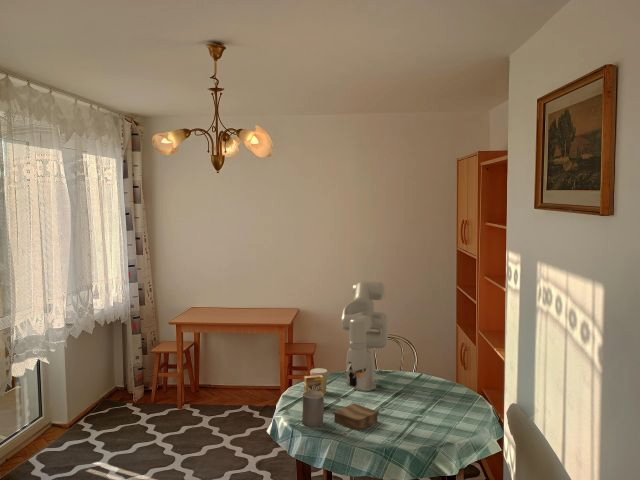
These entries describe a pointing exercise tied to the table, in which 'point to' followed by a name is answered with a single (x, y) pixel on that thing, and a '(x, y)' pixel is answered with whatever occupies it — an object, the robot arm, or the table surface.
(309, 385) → the candy box
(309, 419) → the pillar candle
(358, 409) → the walnut stand
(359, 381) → the housing base
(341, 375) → the table surface
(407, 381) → the table surface
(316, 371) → the coffee cup
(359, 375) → the cover
